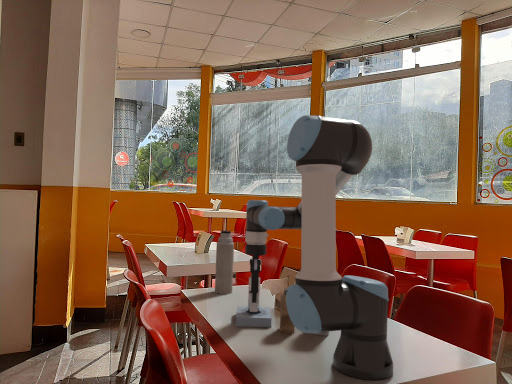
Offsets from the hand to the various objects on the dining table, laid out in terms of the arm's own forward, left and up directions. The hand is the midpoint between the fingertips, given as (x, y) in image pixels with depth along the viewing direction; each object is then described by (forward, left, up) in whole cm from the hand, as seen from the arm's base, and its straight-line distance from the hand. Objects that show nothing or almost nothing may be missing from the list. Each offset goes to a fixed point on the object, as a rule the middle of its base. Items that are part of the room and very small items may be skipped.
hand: (253, 309), depth 142 cm
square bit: (-10, -11, -4) cm, 15 cm away
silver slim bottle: (0, 0, -3) cm, 3 cm away
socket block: (0, 0, -4) cm, 4 cm away
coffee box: (-9, -22, -4) cm, 24 cm away
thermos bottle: (+42, +13, -4) cm, 44 cm away
